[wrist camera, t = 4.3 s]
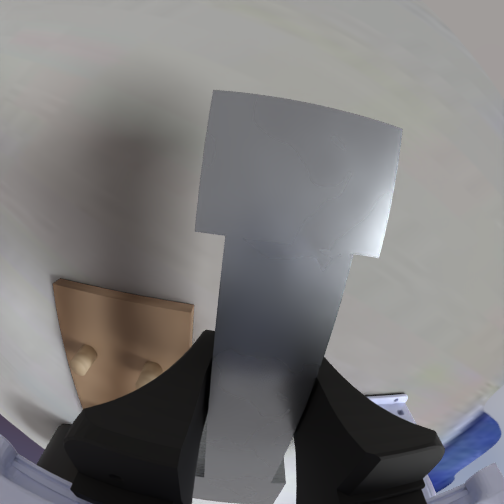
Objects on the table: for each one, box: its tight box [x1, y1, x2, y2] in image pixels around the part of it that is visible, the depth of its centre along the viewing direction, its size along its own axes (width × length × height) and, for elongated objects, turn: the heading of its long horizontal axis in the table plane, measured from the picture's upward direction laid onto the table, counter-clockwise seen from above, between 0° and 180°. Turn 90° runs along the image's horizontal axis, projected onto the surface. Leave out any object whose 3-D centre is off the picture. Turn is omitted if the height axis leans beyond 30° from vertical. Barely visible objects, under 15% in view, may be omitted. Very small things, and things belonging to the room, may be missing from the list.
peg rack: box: [53, 278, 194, 409], centre depth 21 cm, size 12×20×4 cm, turn 172°
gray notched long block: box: [192, 90, 403, 504], centre depth 10 cm, size 17×4×5 cm, turn 172°
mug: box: [37, 424, 78, 483], centre depth 23 cm, size 9×12×9 cm
